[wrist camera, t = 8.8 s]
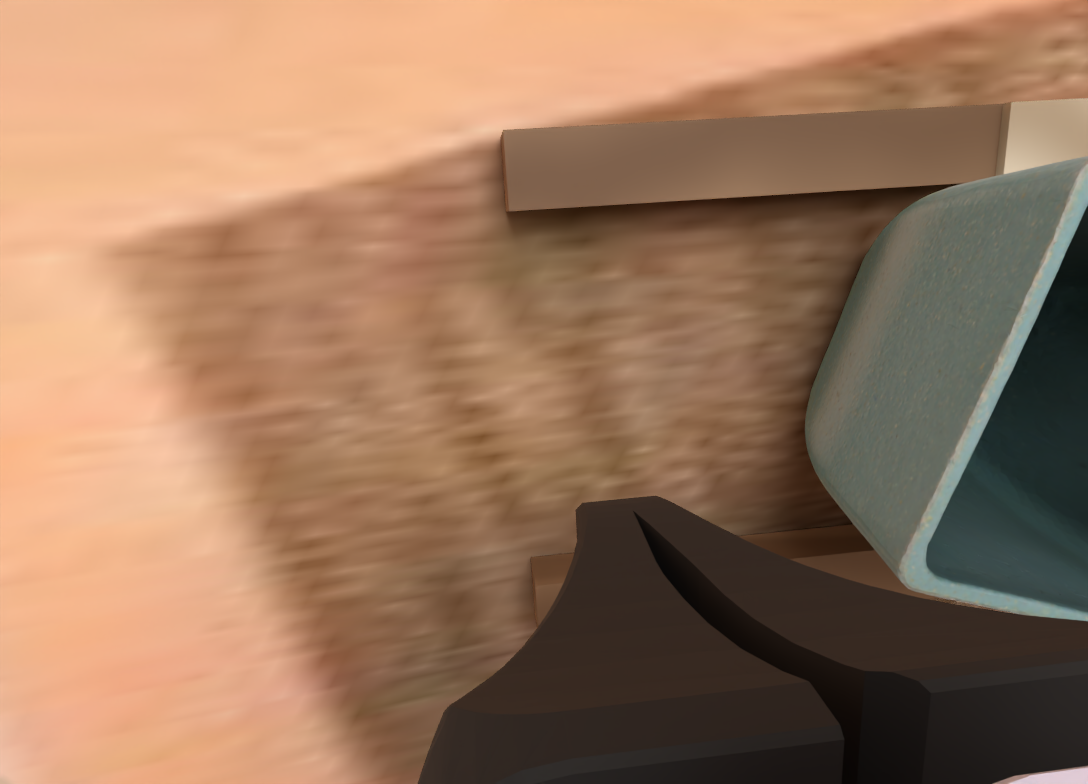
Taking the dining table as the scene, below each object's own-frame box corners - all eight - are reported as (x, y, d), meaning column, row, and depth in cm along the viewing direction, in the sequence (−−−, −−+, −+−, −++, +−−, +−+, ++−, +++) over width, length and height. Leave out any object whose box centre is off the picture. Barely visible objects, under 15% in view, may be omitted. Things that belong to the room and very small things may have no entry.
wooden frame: (1178, 541, 25) (1240, 570, 23) (534, 611, 23) (540, 649, 21) (1266, 96, 21) (1350, 84, 19) (500, 137, 19) (503, 128, 17)
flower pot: (963, 504, 24) (1244, 672, 15) (731, 443, 22) (894, 590, 14) (1078, 254, 22) (1474, 283, 13) (832, 171, 20) (1096, 141, 12)
